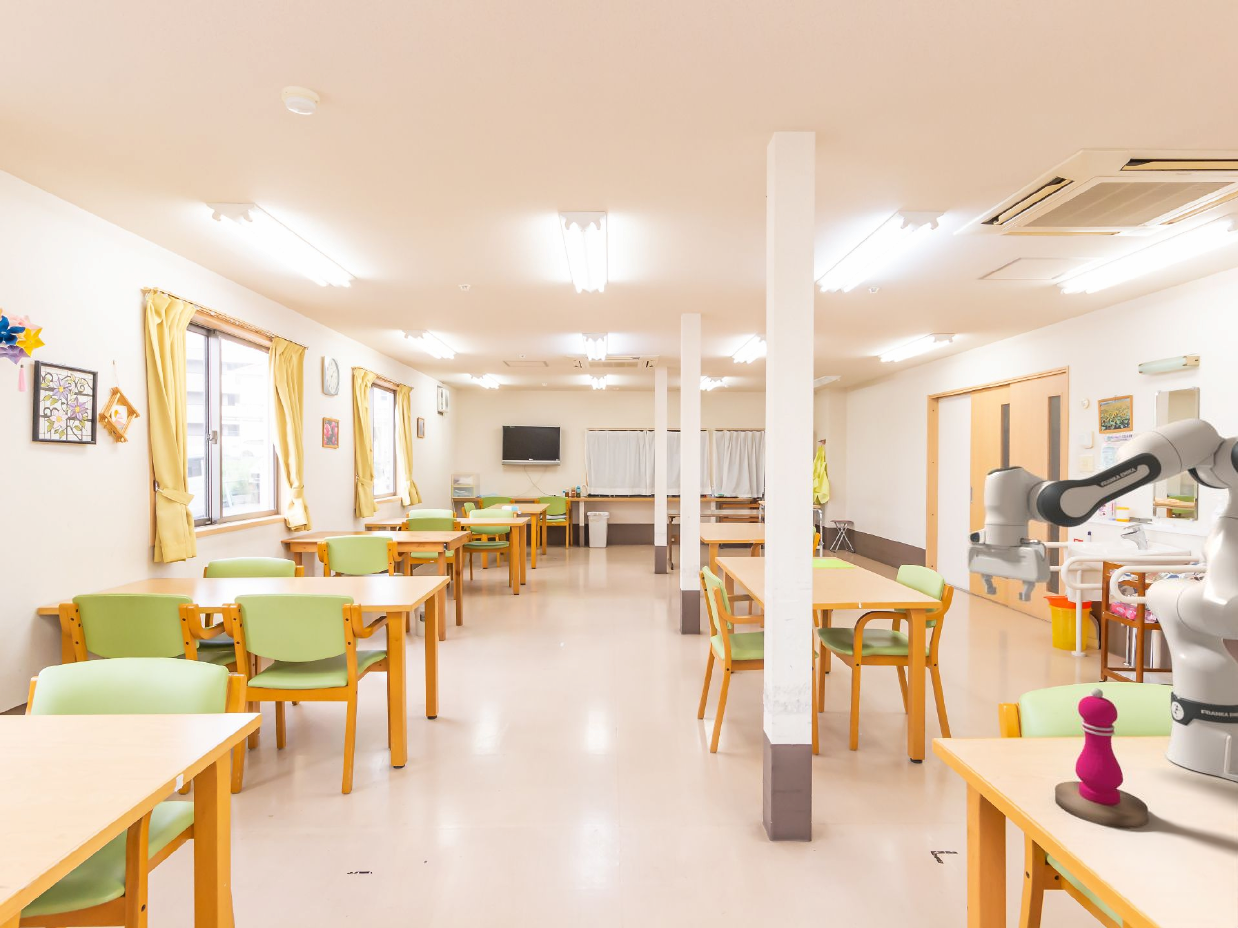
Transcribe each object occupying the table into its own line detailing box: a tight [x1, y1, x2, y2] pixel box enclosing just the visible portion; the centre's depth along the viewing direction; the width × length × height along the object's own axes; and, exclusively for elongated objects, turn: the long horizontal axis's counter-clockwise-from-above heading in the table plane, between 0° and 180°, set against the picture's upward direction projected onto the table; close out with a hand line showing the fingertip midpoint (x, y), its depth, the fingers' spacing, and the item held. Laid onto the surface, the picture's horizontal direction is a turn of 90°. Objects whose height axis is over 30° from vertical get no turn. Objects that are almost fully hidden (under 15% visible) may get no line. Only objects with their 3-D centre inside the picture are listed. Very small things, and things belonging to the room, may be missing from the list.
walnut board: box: [1054, 780, 1149, 829], centre depth 125 cm, size 14×14×2 cm
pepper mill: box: [1075, 687, 1124, 805], centre depth 126 cm, size 7×7×20 cm
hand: (1007, 597), depth 156 cm, fingers open, 8 cm apart
